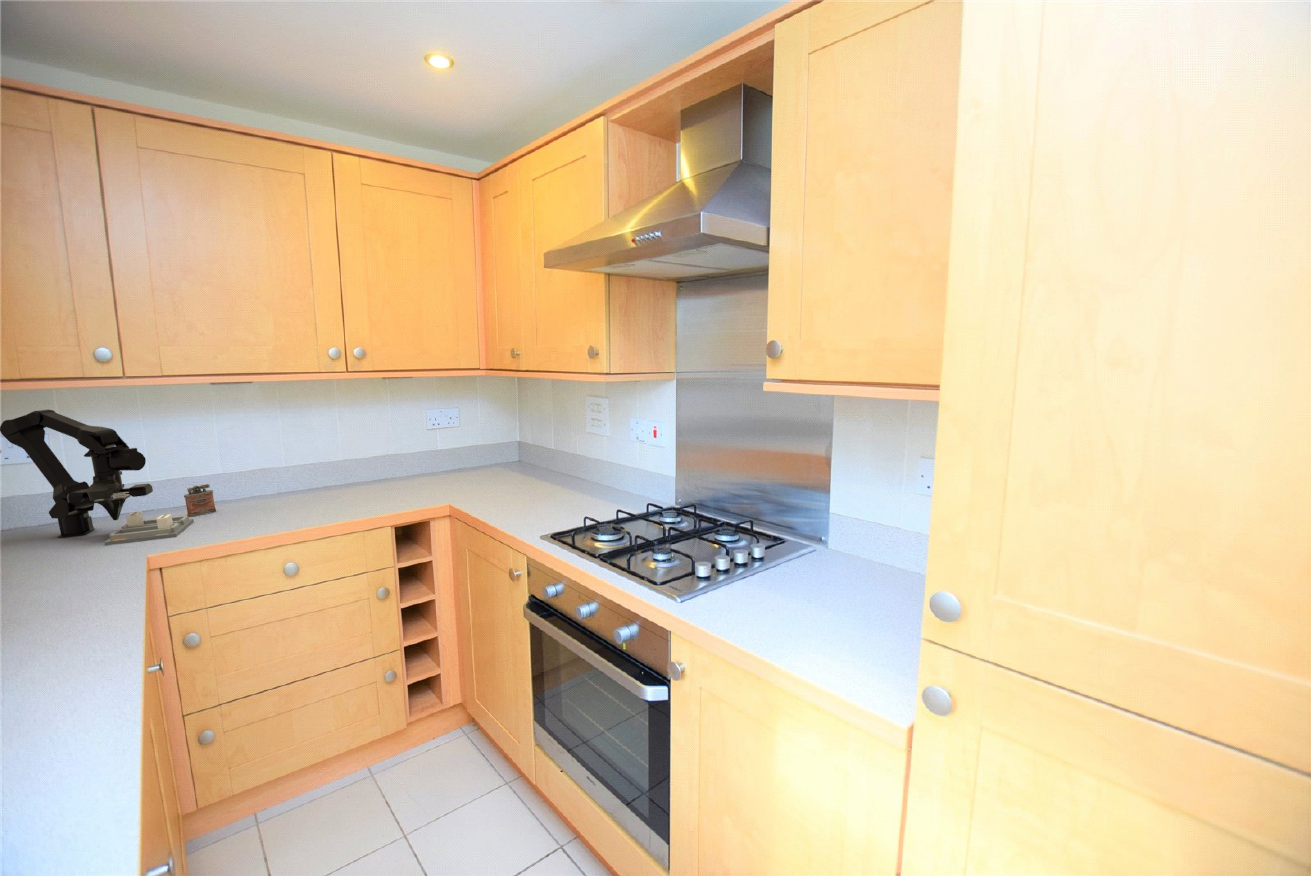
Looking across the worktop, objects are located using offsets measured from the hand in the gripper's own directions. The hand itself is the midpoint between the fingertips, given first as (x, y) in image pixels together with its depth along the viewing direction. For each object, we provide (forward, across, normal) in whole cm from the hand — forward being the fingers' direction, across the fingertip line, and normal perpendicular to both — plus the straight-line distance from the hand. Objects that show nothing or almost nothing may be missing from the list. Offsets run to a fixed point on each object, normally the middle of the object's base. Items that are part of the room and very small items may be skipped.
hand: (116, 519), depth 181 cm
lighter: (+5, +18, +14) cm, 23 cm away
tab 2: (+3, +15, -8) cm, 17 cm away
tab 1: (+3, +5, 0) cm, 6 cm away
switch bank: (+4, +10, -4) cm, 11 cm away
